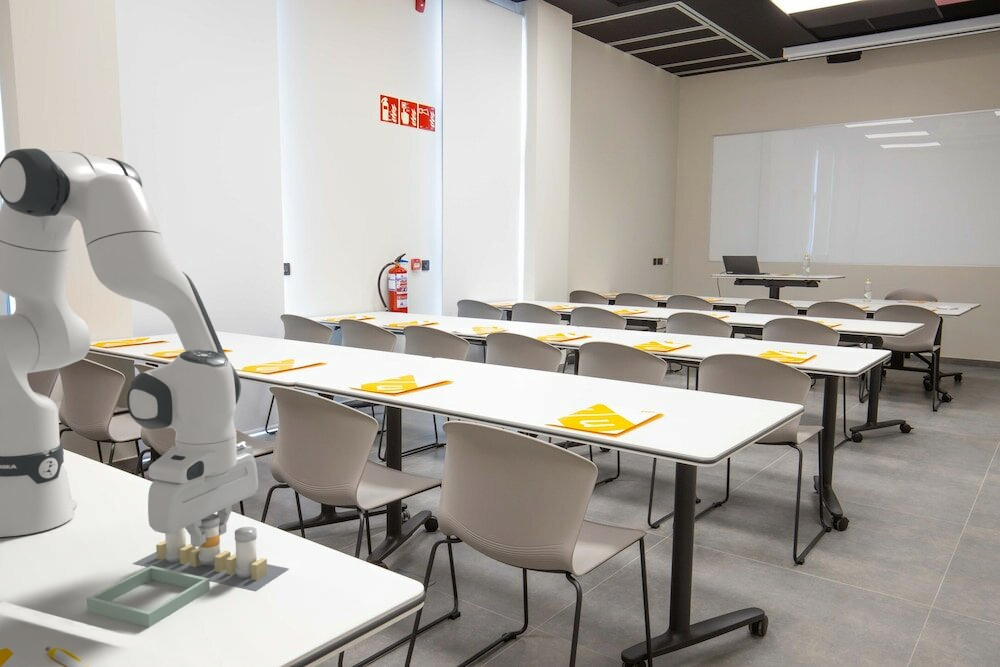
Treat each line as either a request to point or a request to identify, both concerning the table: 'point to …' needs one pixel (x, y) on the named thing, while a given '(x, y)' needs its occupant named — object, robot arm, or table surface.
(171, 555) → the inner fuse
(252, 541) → the outer fuse
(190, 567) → the fuse holder
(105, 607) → the parts tray
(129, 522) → the table surface
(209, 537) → the marked fuse
